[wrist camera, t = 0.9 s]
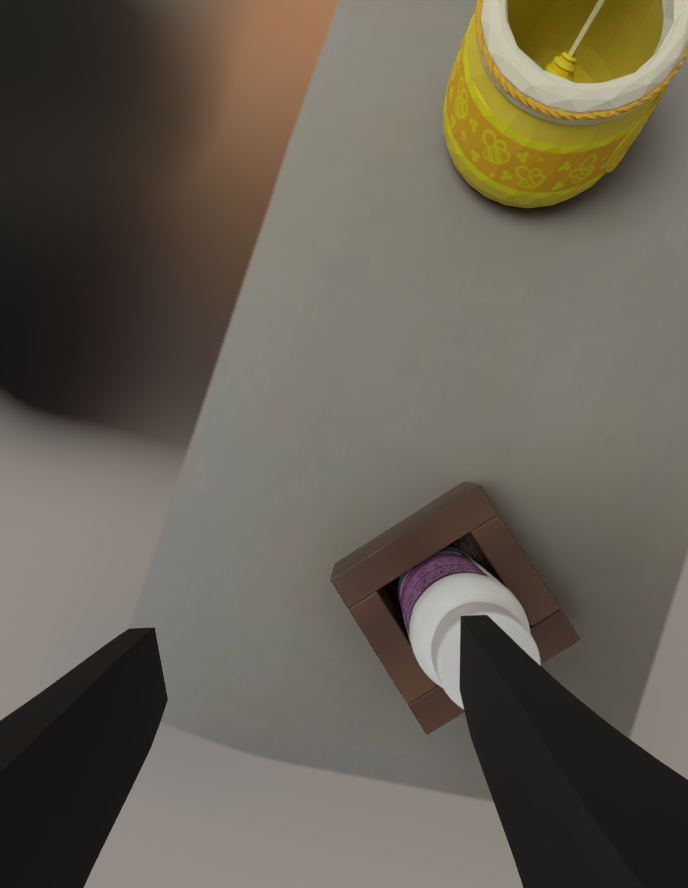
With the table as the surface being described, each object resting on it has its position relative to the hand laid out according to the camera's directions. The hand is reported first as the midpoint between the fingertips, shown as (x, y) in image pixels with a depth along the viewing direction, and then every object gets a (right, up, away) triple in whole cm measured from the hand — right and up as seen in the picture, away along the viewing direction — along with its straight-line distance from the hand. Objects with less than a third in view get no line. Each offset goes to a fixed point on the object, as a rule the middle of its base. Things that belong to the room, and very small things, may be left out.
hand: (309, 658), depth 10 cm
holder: (+7, -4, +16) cm, 18 cm away
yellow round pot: (+13, +25, +17) cm, 33 cm away
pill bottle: (+7, -4, +16) cm, 18 cm away
